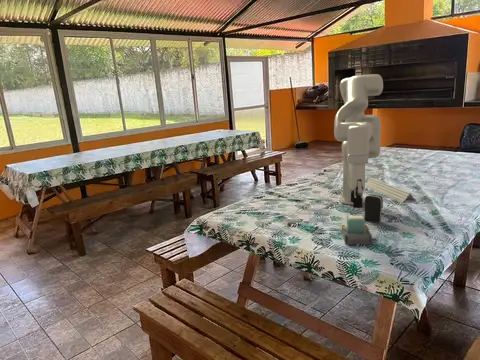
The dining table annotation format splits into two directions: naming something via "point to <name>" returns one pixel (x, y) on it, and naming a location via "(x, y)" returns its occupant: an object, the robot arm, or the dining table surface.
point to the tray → (357, 237)
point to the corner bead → (388, 190)
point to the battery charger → (373, 208)
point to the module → (355, 225)
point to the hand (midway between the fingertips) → (356, 204)
